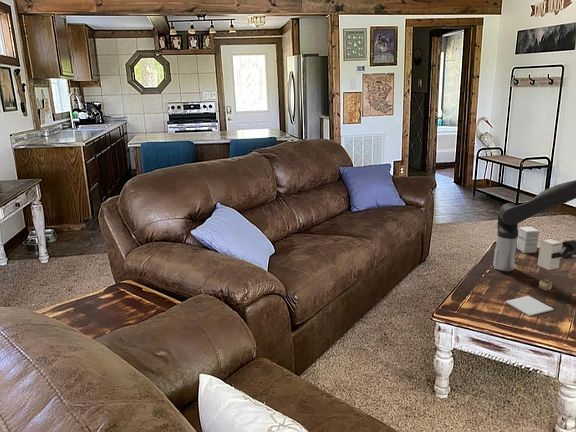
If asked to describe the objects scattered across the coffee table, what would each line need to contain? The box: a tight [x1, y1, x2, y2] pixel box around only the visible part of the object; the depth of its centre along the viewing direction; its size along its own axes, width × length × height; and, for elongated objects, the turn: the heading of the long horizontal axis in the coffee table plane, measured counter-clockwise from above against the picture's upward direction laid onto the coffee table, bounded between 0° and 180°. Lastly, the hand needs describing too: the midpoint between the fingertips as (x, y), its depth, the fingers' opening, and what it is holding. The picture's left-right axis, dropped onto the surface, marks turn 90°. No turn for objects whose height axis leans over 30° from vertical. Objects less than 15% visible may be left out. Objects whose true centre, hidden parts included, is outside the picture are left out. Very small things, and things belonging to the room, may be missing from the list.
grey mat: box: [504, 295, 554, 317], centre depth 198 cm, size 13×13×1 cm
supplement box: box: [516, 226, 540, 254], centre depth 255 cm, size 7×7×13 cm
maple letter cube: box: [538, 278, 553, 291], centre depth 213 cm, size 4×4×4 cm
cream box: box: [536, 237, 563, 271], centre depth 208 cm, size 6×6×12 cm
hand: (546, 253), depth 207 cm, fingers closed on cream box, 6 cm apart
